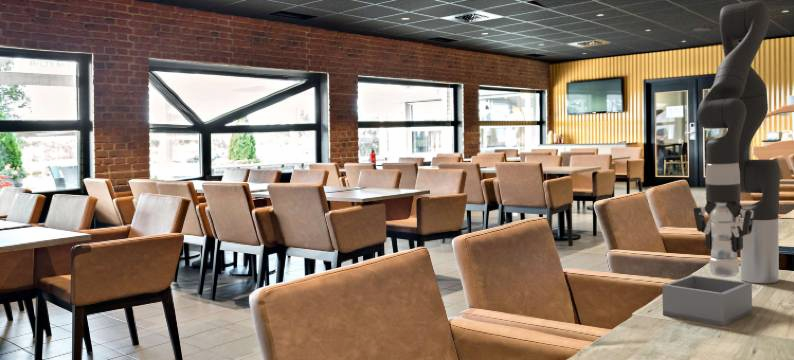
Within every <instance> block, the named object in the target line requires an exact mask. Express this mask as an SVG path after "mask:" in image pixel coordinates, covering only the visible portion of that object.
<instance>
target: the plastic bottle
mask: <svg viewBox="0 0 794 360" xmlns="http://www.w3.org/2000/svg"><path fill="white" fill-rule="evenodd" d="M726 204H727V203H716V206H715V207H714V208H713V210H714V211H713V212H712V211H711V212H712V213H710V215H708V220H709V221H710V222H709V223H710V229H711V238H712V247H711V250H710V258H709V264H708V268H709V272H710V273H711V274H712V275H713V276H715V277H720V278H731V277H732V278H733V277H736V276H737V275H738V274H739V272H740V261H739V258H738V253H737V252H734V237H735V236H734V234H733V231H732V230H733V229H732V228H731V222H732V221H733V222H734V223H735V224H737V223H738V221H739V222H740V216H737V217H736V218H735V217H734V216H733V214H732V213H731V211H730V210H729V209H728V208H727V207H726ZM724 210H726V211H728V213H727V212H726V211H724Z"/></svg>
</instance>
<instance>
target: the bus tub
mask: <svg viewBox="0 0 794 360" xmlns="http://www.w3.org/2000/svg"><path fill="white" fill-rule="evenodd" d="M752 287H753V283H752V282H747V281H739V280H731V279H725V278H717V277H712V276H711V277H710V276H703V275H696V274H690V275H688V276H685V277H682V278H680V279H679V278H678V279H676V280H673V281H670V282H667V283H664V284H662V291H661V292H662V315H663V316H667V317H672V318H678V319H682V320H689V321H694V322H698V323H704V324H709V325H716V326H719V327H725V326H729V325H730V324H732V323H735V322H737V321H739V320H741V319H743V318H745V317H748V316H749V315H751V314H753V298H752V297H753V289H752Z"/></svg>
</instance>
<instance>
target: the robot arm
mask: <svg viewBox="0 0 794 360" xmlns="http://www.w3.org/2000/svg"><path fill="white" fill-rule="evenodd" d="M718 19H719V23H718V24H719V32H720V38H721V43H722V49H723V54H724V56H723V57H724V58H723V60H721V62H720V64H719V65H718V68H717V70H716V73H715V77H714V81H713V84H712V86H711V88H709V91H707V94H706V95H704V97H703V98H702V100H701V101H700V103H699V104H698V105H699V106H698V107H697V111H696V120H697V122H698V124H699V125H700V126H701V128H703V129H709V130H710V129H711V130H713V129H714V130H715V129H716V130H717V129H727V131H726V133H725V134H724V135H723V136H721V137H718V138H717V137H716V138H713V139H712V138H711V139H709V140H708V141H707V142H706V145H705V153H706V154H705V155H706V158H705V159H706V161H705V162H706V167H705V177H704V181H705V200H706V203H705V206H697V207H694V208H693V213H694V214H693V215H694V220H695V225H696V230H697V231H698V232H699V233H700V232H702V233H703V234H704V235H705V236H704V237H705V239H704V240H705V247H706V248H707V250H709V251H711V247H712V238H711V229H710V223H709V222H710V221H709V219H708V221H707V222H706V219H705V215H706V214H707V215H708V216H709V215H710V213H712V212H713V211H714V210H713V208H714V207H715V206H716V203H727V204H726V207H727V208H728V209H729V210H730V211H731V213H732V214H733V216H734V217H735V218H736V217H737V216H738V217H739V221H738V223H737V224H735V223H734V222H733V221H732V222H731V228H732V229H733V230H732V231H733V234H734V236H735V237H734V252H737V254H738V253H739V254H740V280H741V281H742V282H748V283H752V284H753V283H754V284H775V283H778V282H779V281H780V279H779V278H780V276H779V270H780V269H779V267H780V266H779V263H780V262H779V258H780V257H779V256H780V255H779V247H780V245H779V243H780V242H779V209H780V187H781V185H780V184H781V168H780V166H779V165H780V164H779V163H778V161H776V160H775V159H766V158H765V159H763V158H762V159H750V146H751V143H752V141H753V138H754V136H755V135H756V134H757V132H758V130H759V128H761V125H762V124H763V123H764V120H765V119H766V116H767V114H768V111H769V104H768V90H767V85H766V84H765V81H764V79H763V78H762V77H761V76H760V75H759V74H758V72H756V70H755V69H754V68H753V67H752V64H753V62H754V60H755V57H756V55H757V54H758V51H759V50H760V47H761V46H762V43H763V41H764V38H765V36H766V34H767V32H768V29H769V25H770V10H769V7H768V4H767V3H766V2H765V1H763V0H751V1H744V2H739V3H732V4H728V5H725V6H723V7H722V8H721V9H720V12H719V18H718ZM739 40H741V41H740V42H739ZM741 193H743V194H745V193H746V194H761V199H760V200H758V201H757V202H754V203H752V204H749V205H745V206H741ZM711 211H712V212H711ZM724 211H726V210H724ZM726 212H727V213H728V211H726Z"/></svg>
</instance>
